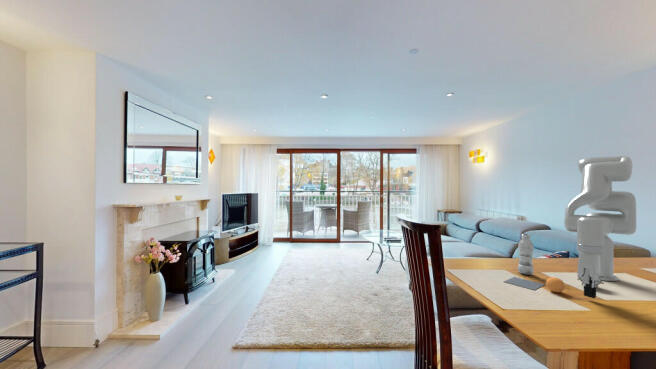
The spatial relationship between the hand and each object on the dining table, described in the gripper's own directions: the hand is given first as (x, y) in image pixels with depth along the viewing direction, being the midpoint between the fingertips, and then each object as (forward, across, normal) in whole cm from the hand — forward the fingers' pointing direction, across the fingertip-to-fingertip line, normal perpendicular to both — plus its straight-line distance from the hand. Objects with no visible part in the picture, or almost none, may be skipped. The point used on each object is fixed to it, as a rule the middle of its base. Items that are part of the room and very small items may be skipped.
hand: (589, 296), depth 105 cm
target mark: (+2, 0, -22) cm, 22 cm away
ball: (-2, +1, -10) cm, 11 cm away
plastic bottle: (+2, -16, -27) cm, 31 cm away
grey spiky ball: (+2, -20, -4) cm, 20 cm away
